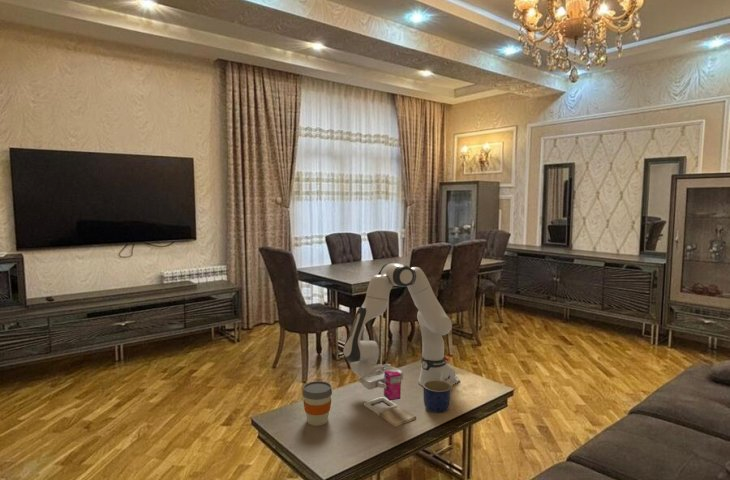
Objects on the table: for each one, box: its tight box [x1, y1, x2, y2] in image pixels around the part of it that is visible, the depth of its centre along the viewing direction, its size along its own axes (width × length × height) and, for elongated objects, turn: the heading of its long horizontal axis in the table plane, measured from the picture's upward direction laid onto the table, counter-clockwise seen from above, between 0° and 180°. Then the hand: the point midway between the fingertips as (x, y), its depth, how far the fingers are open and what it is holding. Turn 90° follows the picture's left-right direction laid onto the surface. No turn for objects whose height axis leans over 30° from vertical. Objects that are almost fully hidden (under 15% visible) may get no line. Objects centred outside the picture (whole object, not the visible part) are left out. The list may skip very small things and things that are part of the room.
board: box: [378, 406, 417, 427], centre depth 195 cm, size 12×11×1 cm
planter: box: [422, 380, 452, 414], centre depth 203 cm, size 12×12×11 cm
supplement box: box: [383, 370, 402, 401], centre depth 197 cm, size 6×6×12 cm
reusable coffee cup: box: [302, 380, 333, 427], centre depth 191 cm, size 13×13×15 cm
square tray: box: [363, 395, 399, 416], centre depth 205 cm, size 11×11×2 cm
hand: (393, 384), depth 196 cm, fingers closed on supplement box, 6 cm apart
